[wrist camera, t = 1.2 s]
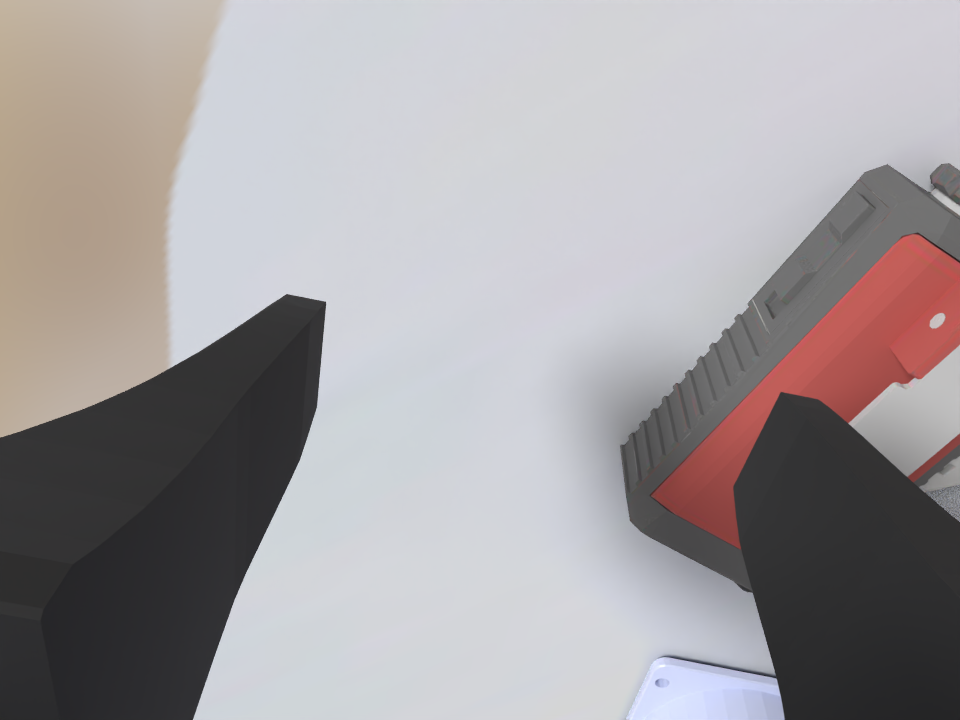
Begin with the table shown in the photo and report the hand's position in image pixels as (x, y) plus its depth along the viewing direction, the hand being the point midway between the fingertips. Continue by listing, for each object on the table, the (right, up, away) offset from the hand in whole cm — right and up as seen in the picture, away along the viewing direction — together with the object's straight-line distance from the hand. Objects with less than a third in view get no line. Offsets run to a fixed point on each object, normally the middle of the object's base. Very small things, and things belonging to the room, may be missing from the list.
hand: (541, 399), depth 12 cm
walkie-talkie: (+11, +2, +9) cm, 15 cm away
